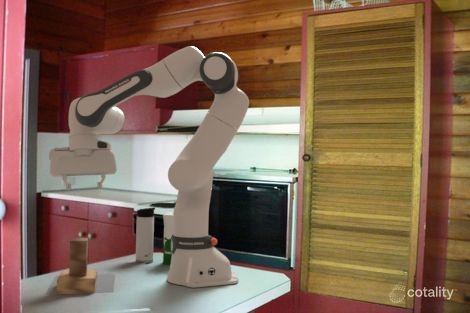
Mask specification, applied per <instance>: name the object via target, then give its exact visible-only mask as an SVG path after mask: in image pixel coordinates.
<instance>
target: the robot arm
mask: <svg viewBox="0 0 470 313" xmlns="http://www.w3.org/2000/svg"><path fill="white" fill-rule="evenodd" d="M239 80H240V73H239V70H238V66H237V64H236V63H235V62H234V60H232V59H231V57H230V56H229V55H227V54H226V53H224V52H219V51H218V52H217V51H215V52H210V53H208V54H207V55H206V56H204V54H203V53H202V51H201V50H199V49H198V48H197V47H195V46H192V45H191V46H190V45H189V46H185V47H183V48H181V49H178V50H176V51H174V52H173V53H171V54H169V55H167V56H166V57H164V58H162V59H161V60H160V61H158V62H156V63H155V64H153V65H151V66H149V67H146V68H143V69H140V70H136V71H134V72H132V73H130V74H128V75H126V76H124V77H122V78H120V79H119V80H117V81H115V82H113V83H111V84H109V85H107V86H106V87H104V88H102V89H100V90H97V91H93V92H88V93H86V94H83V95H82V96H81V97H76V99H73V100H72V101H71V103H70V106H69V110H68V127H69V135H68V146H66V147H63V146H62V147H54V148H53V149H51V150H50V151H49V153H48V159H49V160H50V165H49V174H50V175H51V176H52V177H53V178H57V177H58V178H59V177H61V179H62V181H63V183H64V185H65V190H66V191H72V183H69V182H68V181H67V180H68V177H76V176H77V177H82V176H100V178H101V179H100V181H99V182H97V189H103V183H104V181H105V180H106V175H115V174H116V173H117V169H118V168H117V162H116V156H115V154H114V152H113V151H112V148H113V146H112V144H111V143H110V142H109V141H108V142H107V141H104V140H101V139H98V136H99V135H116V134H118V133H120V131H122V129H123V128H124V126H125V121H126V117H125V116H126V115H125V113H124V112H123V111H122V109H120V108H119V107H117V106H118V105H120V104H122V103H124V102H126V101H127V100H129V99H131V98H134V97H136V96H152V97H156V98H168V97H171V96H174V95H175V94H177V93H179V92H181V91H182V90H184V89H185V88H186V87H188V86H189V85H191V84H193V83H194V82H198V81H200V82H203V83H204V84H205V86H207V88H209V90H211V92H212V93H213V94H214V99H213V103H212V104H211V106H210V107H209V109H208V111H207V113H206V114H205V116H204V117H203V120H202V121H201V123H200V124H199V126H198V128H197V130H196V132H195V133H194V135H193V136H192V137H191V138H190V140H189V141H188V143H187V144H186V145H185V146H184V147H183V149H182V150H181V151H180V153H179V155H178V156H177V158H176V159H175V160H174V161H173V163H172V164H171V165H170V166H169V168H168V172H167V178H168V182H169V184H170V186H172V187H173V189H175V190H176V191H177V196H176V200H175V205H174V207H175V208H174V207H173V212H174V220H173V235H172V239H171V252H172V258H171V264H169V271H168V273H167V277H166V281H167V282H169V283H171V284H173V285H179V286H184V287H188V288H203V287H204V288H205V287H217V286H222V285H223V286H225V285H234V284H237V283H238V282H239V276H238V274H237V273H235V272H233V271H232V267H231V262H230V260H229V259H228V257H227V256H226V255H225V254H223V253H222V252H221V251H219V249H217V248H216V247H215V246H217V244H218V239H217V238H215V237H213V236H211V235H210V234H209V212H210V203H211V197H212V191H213V190H212V189H213V188H212V187H213V179H214V167H215V166H216V164H217V163H218V161H219V160H220V159H221V157H223V155H224V154H225V153H226V152H227V150H228V147H229V146H230V144H231V143H232V141H233V140H234V137H235V136H236V134H237V133H238V130H239V129H240V127H241V125H242V124H243V121H244V119H245V117H246V115H247V112H248V109H249V107H250V100H249V96H248V95H247V93H245V92H244V91H243V90H241V89H240V88H239V87H238V86H237V85H238V83H239Z"/></svg>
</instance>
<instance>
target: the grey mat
mask: <svg viewBox="0 0 470 313" xmlns="http://www.w3.org/2000/svg"><path fill="white" fill-rule="evenodd" d="M58 277H59V275H56V276H55V277H54V278H53V280H52V282H51V284H50V286H49V287H48V289H47V290H46V292H45V294H44V295H45V296H47V295H49V296H50V295H58V294H57V279H58ZM115 280H116V273H108V274H107V273H104V274H103V273H102V274H97V286H96V290H95V293H94V294H97V293H98V294H99V293H100V294H102V293H114V290H115ZM74 294H75V295H77V294H79V293H74Z"/></svg>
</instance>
